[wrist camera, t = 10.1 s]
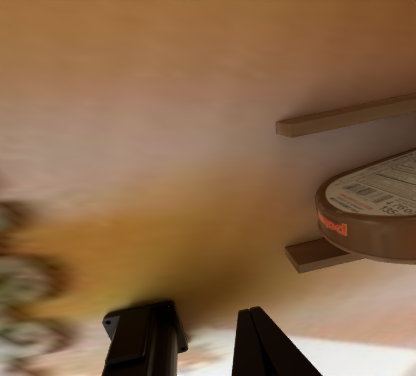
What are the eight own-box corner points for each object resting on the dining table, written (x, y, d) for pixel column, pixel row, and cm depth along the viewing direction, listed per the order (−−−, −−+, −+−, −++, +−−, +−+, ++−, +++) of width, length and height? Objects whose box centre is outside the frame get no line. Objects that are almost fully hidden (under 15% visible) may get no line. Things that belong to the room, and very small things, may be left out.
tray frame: (472, 212, 20) (508, 225, 18) (285, 254, 19) (298, 273, 17) (510, 73, 16) (564, 67, 14) (275, 122, 15) (291, 124, 13)
